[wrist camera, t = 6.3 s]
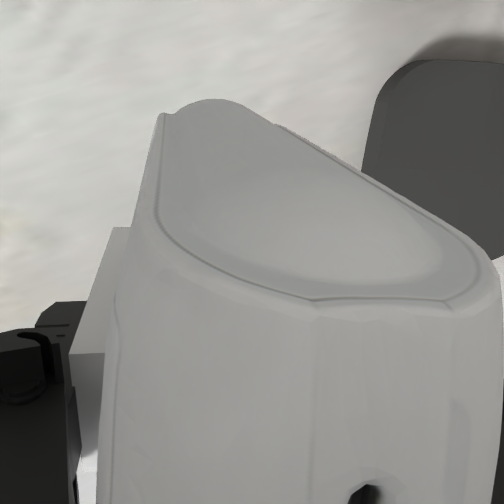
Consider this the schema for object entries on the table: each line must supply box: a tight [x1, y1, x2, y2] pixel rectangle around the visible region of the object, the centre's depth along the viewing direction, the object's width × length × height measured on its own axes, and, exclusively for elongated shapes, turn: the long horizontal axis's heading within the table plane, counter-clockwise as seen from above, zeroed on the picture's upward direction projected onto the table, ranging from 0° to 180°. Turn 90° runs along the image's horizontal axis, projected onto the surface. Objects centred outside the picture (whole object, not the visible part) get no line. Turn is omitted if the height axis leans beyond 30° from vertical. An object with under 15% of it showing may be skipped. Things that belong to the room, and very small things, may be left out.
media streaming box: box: [361, 60, 504, 260], centre depth 33 cm, size 15×15×3 cm
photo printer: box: [96, 99, 504, 504], centre depth 9 cm, size 10×4×12 cm, turn 173°
